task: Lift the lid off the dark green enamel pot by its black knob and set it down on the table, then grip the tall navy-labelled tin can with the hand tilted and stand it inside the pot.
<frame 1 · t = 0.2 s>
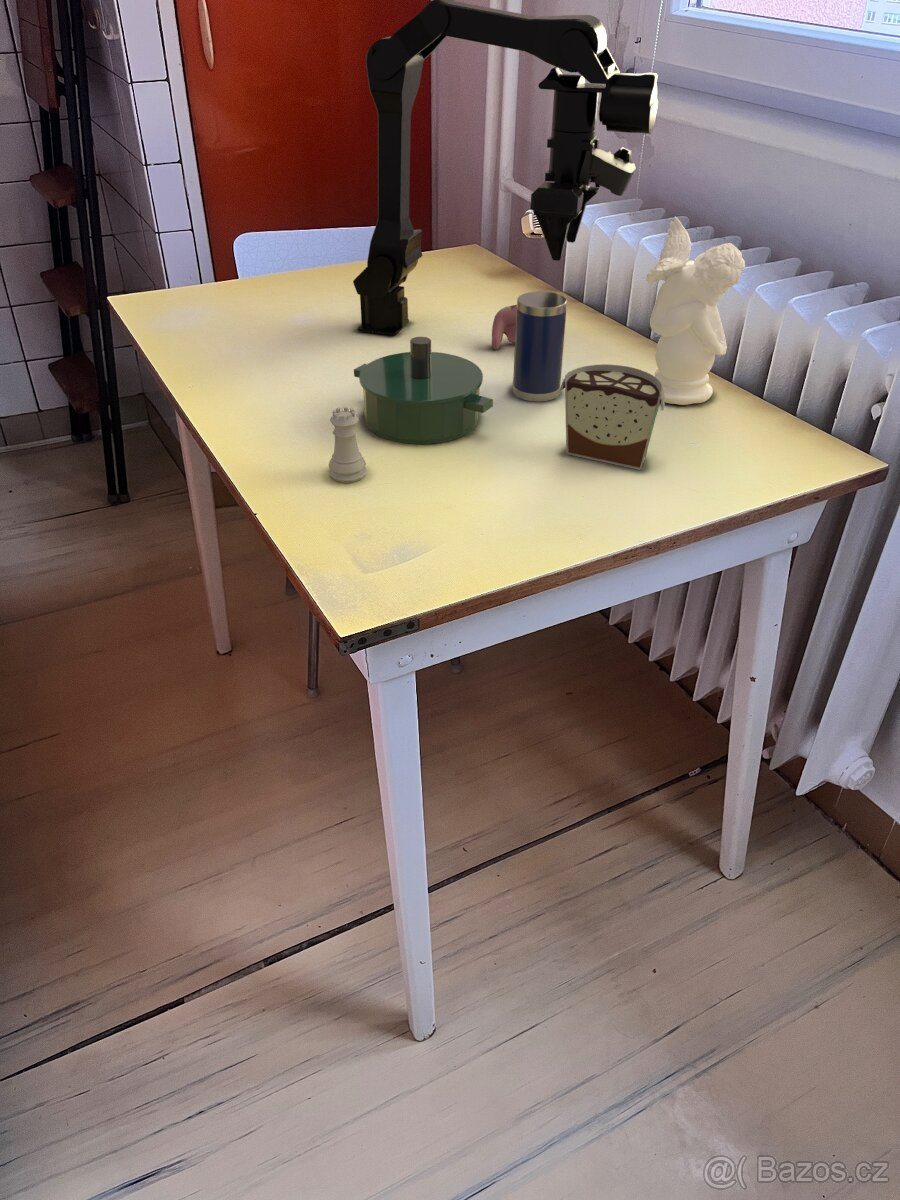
hand: (564, 250, 132), 15 cm above the table, tool pointing down, fingers open, 9 cm apart
food container: (610, 452, 114), on the table
cherub figurine: (665, 396, 128), on the table
pot: (421, 418, 121), on the table
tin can: (536, 392, 128), on the table
video game controller: (523, 346, 142), on the table
rook chess piece: (348, 476, 109), on the table
pot lid: (421, 378, 118), point 5 cm above the table, touching pot
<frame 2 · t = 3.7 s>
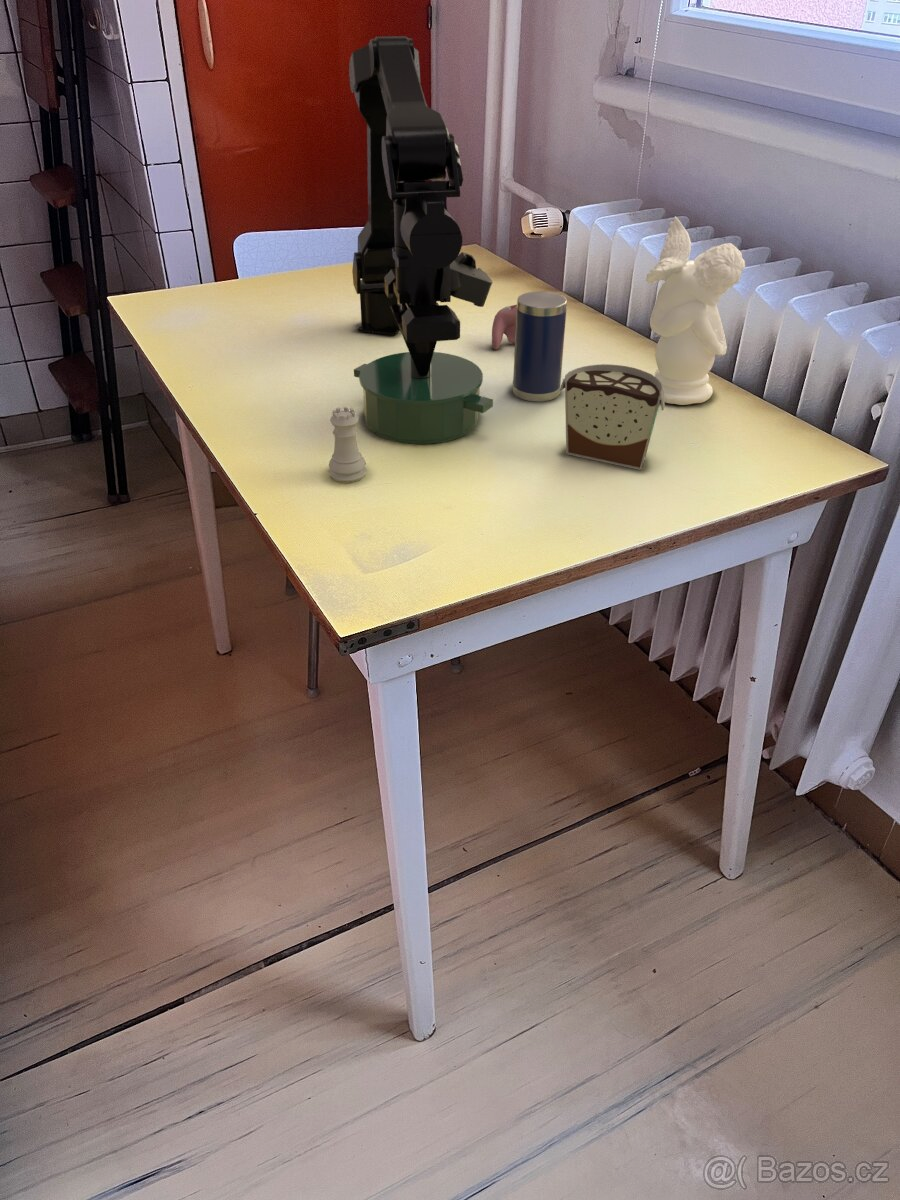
hand: (421, 370, 118), 7 cm above the table, tool pointing down, fingers closed on pot lid, 3 cm apart
pot lid: (421, 378, 118), point 5 cm above the table, touching gripper, pot
everything else where it was.
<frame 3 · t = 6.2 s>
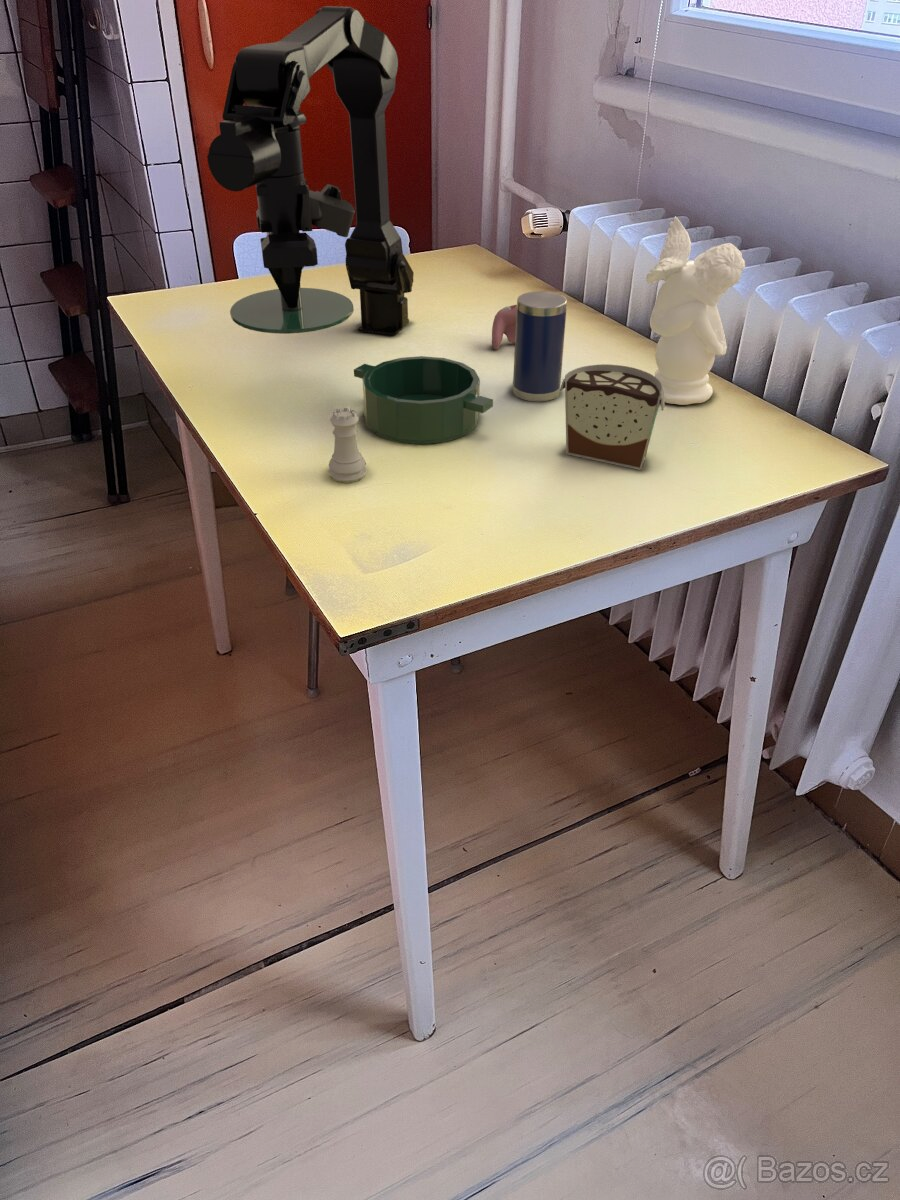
hand: (291, 303, 119), 13 cm above the table, tool pointing down, fingers closed on pot lid, 3 cm apart
pot lid: (292, 311, 120), point 12 cm above the table, touching gripper
everything else where it was.
when the fingers open (2 cm above the table, at t = 9.1 s): pot lid stays where it is, point 1 cm above the table.
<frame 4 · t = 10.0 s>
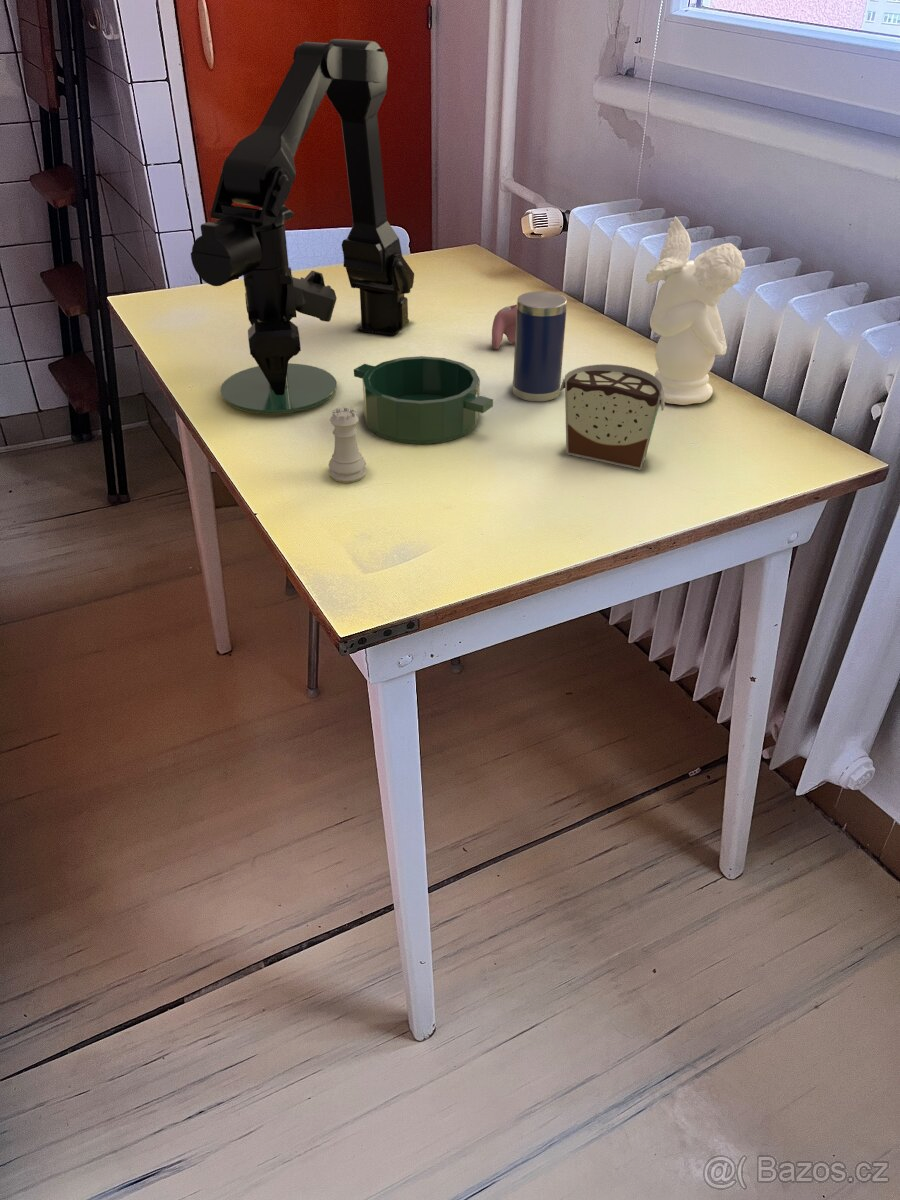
hand: (278, 380, 126), 2 cm above the table, tool pointing down, fingers open, 9 cm apart
pot lid: (279, 389, 127), point 1 cm above the table
everything else where it was.
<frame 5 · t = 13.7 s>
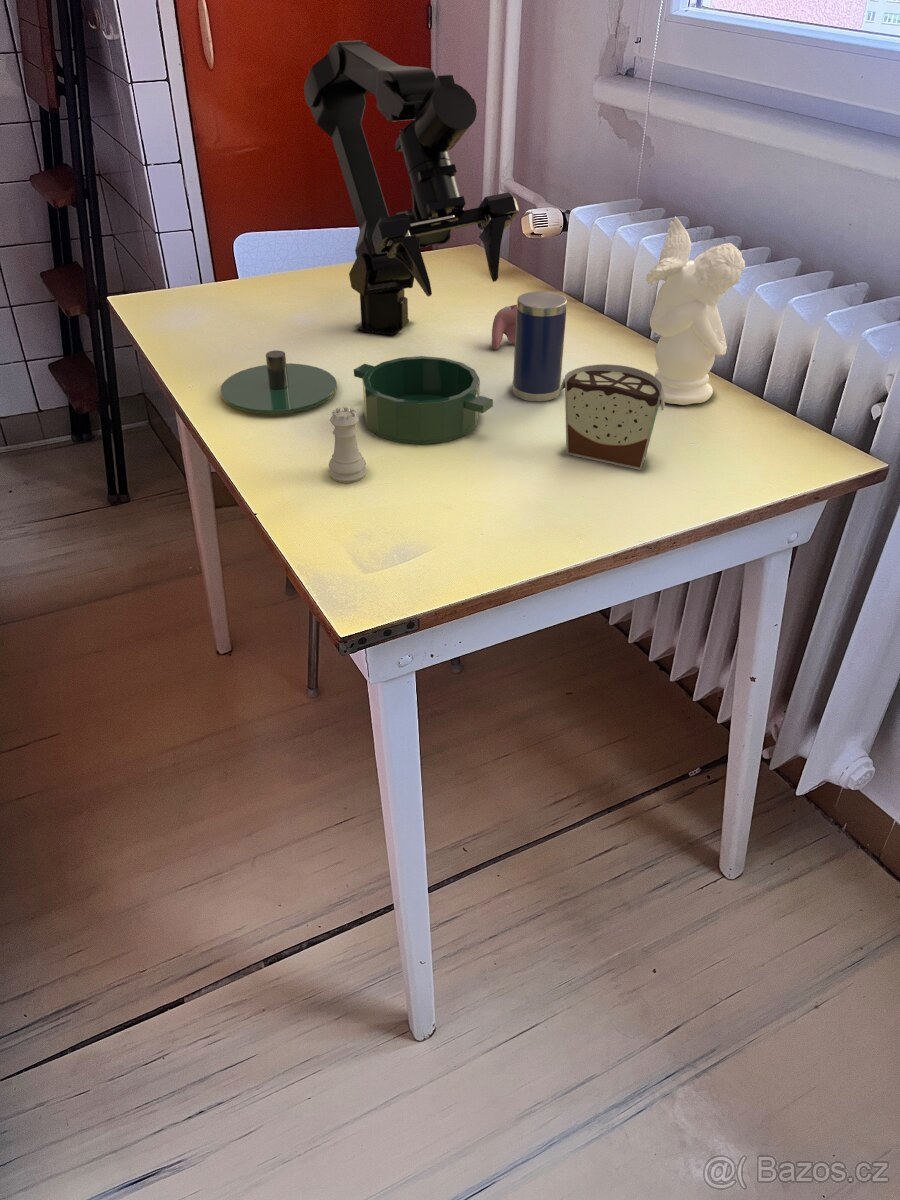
hand: (462, 288, 122), 14 cm above the table, tool tilted 35°, fingers open, 9 cm apart
nothing on the table moved.
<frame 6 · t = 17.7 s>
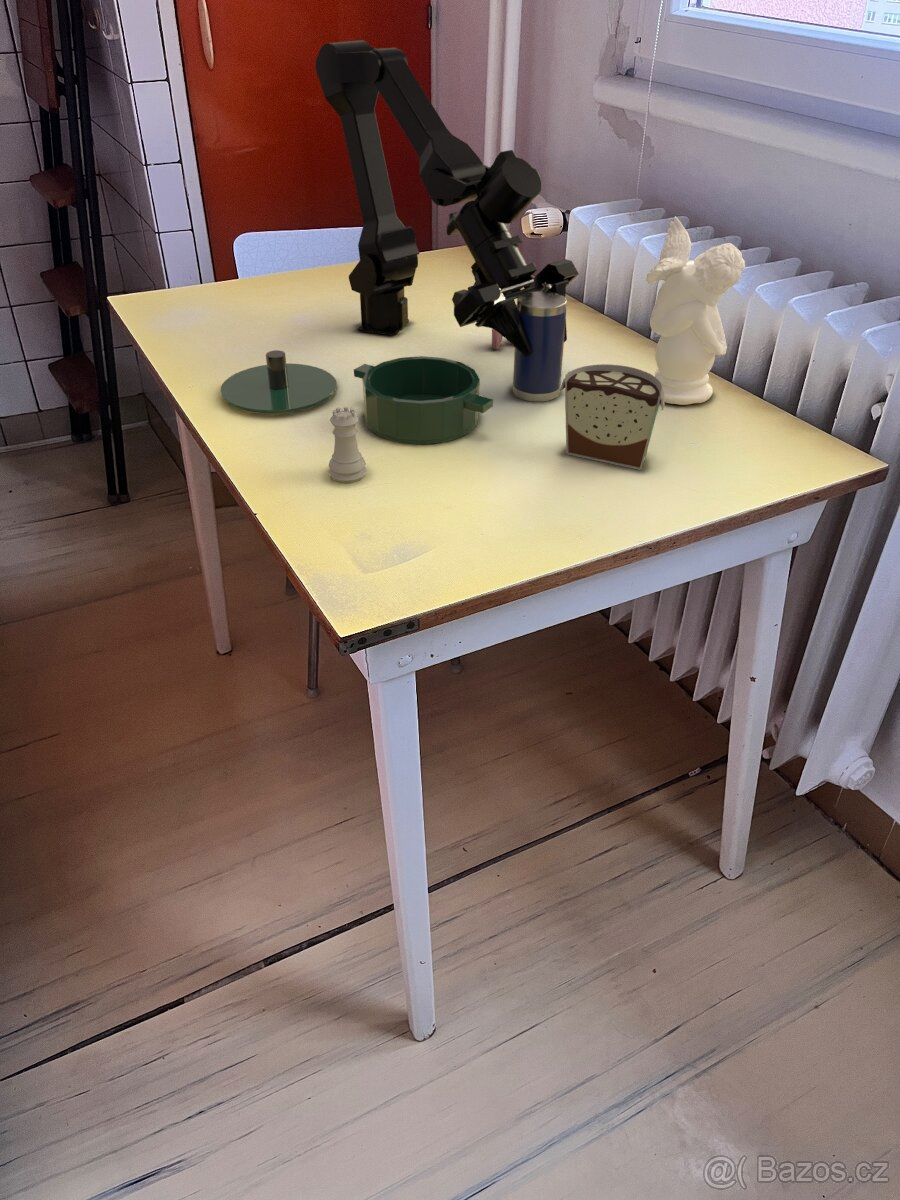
hand: (546, 348, 124), 7 cm above the table, tool tilted 45°, fingers closed on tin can, 6 cm apart
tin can: (536, 392, 128), on the table, touching gripper
everything else where it was.
when the fingers open (7 cm above the table, at t = 25.4 s): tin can stays where it is, resting on pot.
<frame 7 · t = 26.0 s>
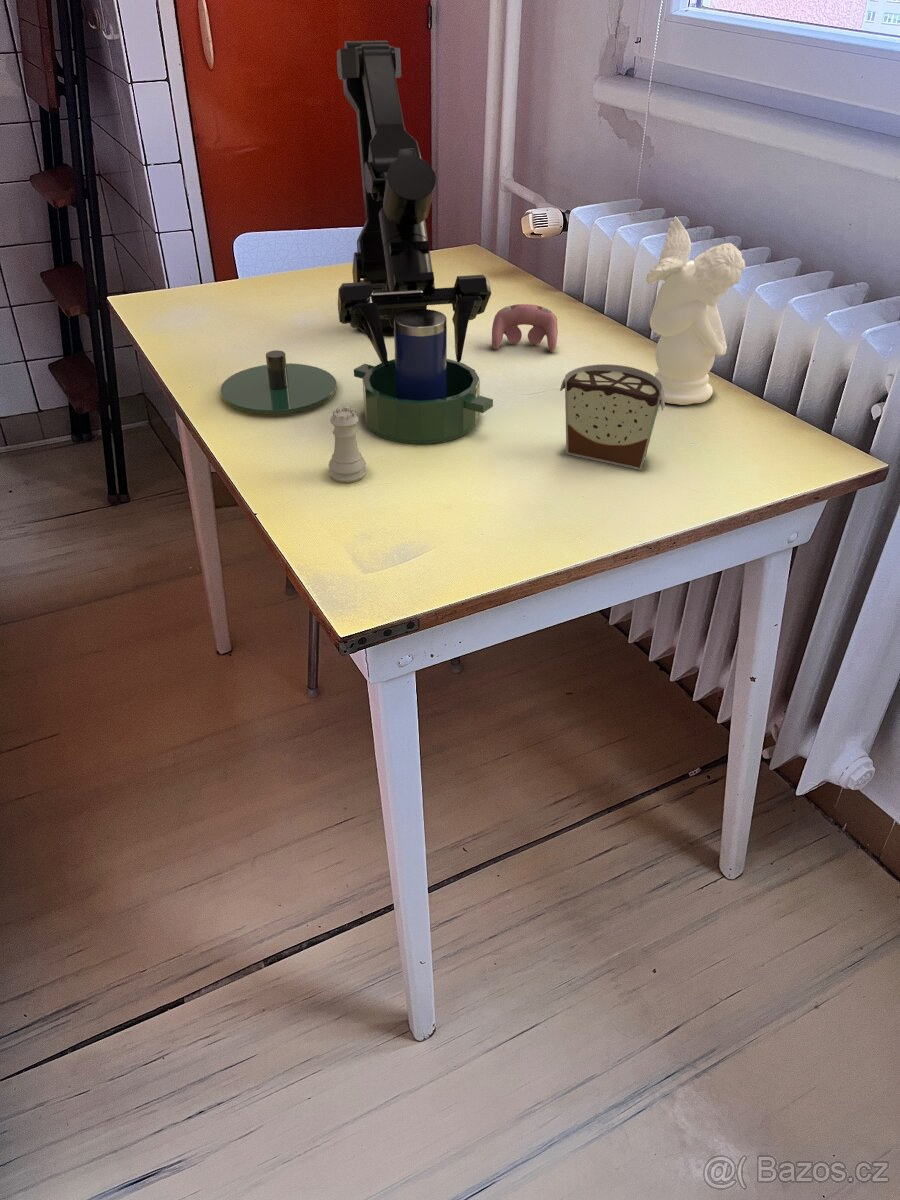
hand: (422, 363, 116), 8 cm above the table, tool tilted 45°, fingers open, 9 cm apart
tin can: (421, 414, 121), resting on pot
everything else where it was.
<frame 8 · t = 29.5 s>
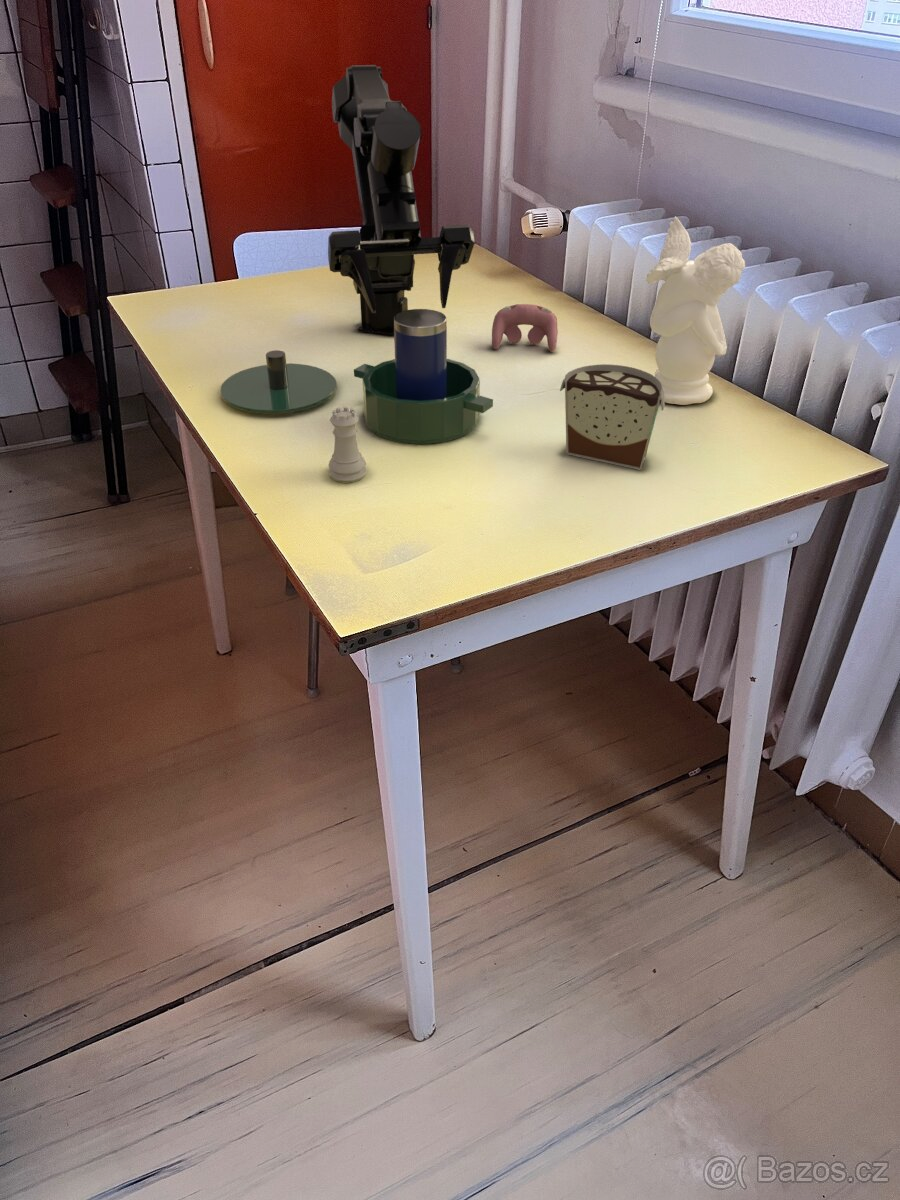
hand: (409, 309, 121), 12 cm above the table, tool tilted 45°, fingers open, 9 cm apart
nothing on the table moved.
at the end: pot lid inside the target area (0.1 cm from its centre), point 0.6 cm above the table; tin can inside the target area in the pot (0.1 cm from its centre), point 0.5 cm above the pot's base; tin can tilted 0° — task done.
